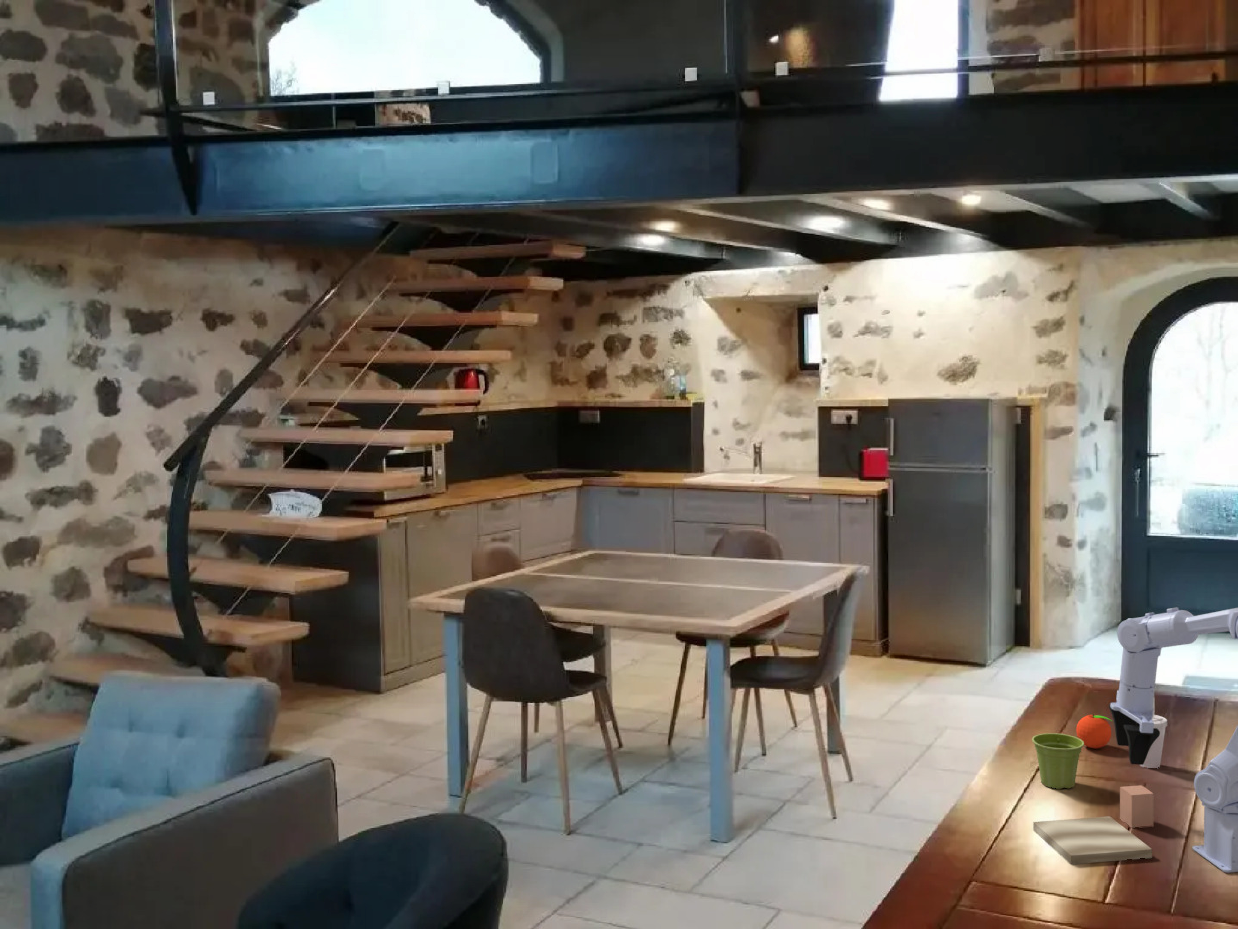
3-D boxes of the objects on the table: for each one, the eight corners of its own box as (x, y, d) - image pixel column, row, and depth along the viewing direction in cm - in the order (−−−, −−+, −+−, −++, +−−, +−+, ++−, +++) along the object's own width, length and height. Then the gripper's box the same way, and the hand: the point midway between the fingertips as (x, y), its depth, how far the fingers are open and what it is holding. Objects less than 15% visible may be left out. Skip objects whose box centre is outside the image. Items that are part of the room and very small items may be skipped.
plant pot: (1042, 772, 234) (1042, 729, 234) (1090, 781, 228) (1090, 738, 228) (1025, 786, 227) (1024, 743, 226) (1074, 796, 221) (1074, 752, 220)
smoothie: (1170, 771, 232) (1171, 702, 230) (1136, 770, 233) (1136, 702, 232) (1162, 760, 238) (1163, 693, 237) (1129, 759, 239) (1129, 692, 238)
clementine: (1114, 743, 249) (1114, 710, 249) (1119, 754, 243) (1119, 720, 242) (1074, 741, 251) (1074, 709, 251) (1078, 752, 245) (1078, 719, 244)
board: (1152, 858, 194) (1152, 849, 194) (1070, 864, 193) (1070, 855, 193) (1109, 824, 208) (1109, 816, 208) (1033, 830, 207) (1033, 822, 207)
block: (1153, 826, 207) (1153, 793, 206) (1131, 828, 206) (1131, 795, 206) (1141, 817, 210) (1141, 785, 210) (1120, 819, 210) (1120, 787, 210)
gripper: (1102, 666, 215) (1095, 735, 217) (1126, 697, 200) (1118, 771, 203) (1142, 668, 214) (1135, 738, 216) (1169, 699, 200) (1161, 773, 202)
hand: (1129, 754), depth 210 cm, fingers open, 7 cm apart
